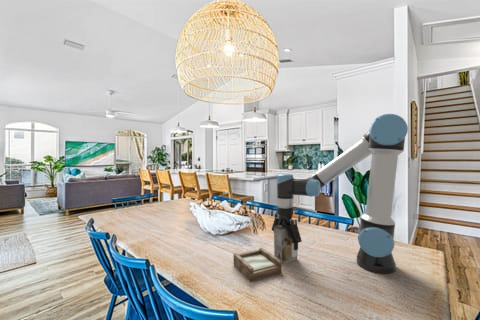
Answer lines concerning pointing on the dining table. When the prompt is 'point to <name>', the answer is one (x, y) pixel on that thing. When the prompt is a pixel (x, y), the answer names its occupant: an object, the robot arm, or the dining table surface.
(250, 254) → the wooden tray
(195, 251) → the dining table surface
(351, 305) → the dining table surface
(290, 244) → the coffee box
